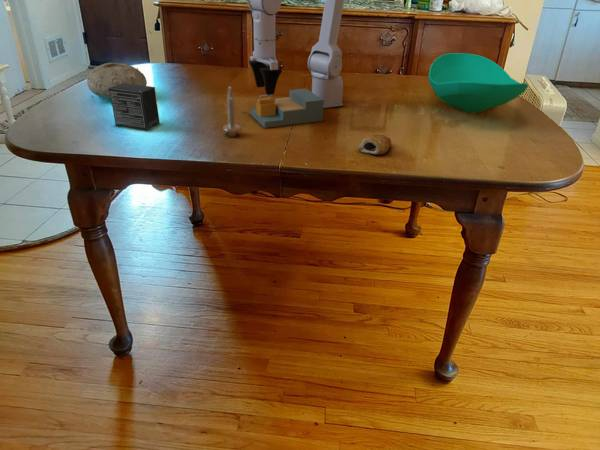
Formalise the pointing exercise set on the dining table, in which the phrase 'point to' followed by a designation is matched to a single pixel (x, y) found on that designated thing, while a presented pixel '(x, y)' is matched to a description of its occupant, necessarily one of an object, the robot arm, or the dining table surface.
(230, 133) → the screw
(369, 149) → the pastry
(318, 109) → the step rack
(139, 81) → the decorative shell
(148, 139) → the dining table surface
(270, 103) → the block with handle
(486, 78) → the table top decor
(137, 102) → the small box
